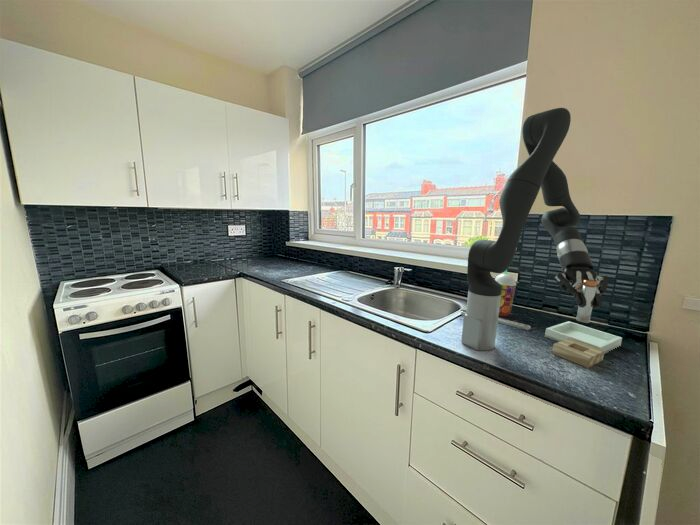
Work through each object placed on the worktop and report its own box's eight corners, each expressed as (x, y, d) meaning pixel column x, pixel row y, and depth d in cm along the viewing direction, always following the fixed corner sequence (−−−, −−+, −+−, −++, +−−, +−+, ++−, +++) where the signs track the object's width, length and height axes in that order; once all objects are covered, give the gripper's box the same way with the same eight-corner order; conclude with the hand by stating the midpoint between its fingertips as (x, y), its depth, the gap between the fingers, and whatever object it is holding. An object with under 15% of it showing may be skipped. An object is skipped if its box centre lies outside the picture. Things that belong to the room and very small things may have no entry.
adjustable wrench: (531, 329, 103) (531, 325, 103) (526, 335, 99) (527, 330, 98) (463, 311, 120) (464, 307, 120) (457, 315, 116) (457, 311, 115)
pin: (586, 323, 79) (594, 282, 77) (573, 319, 82) (581, 279, 79) (591, 321, 80) (599, 281, 78) (579, 318, 83) (586, 278, 81)
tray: (598, 356, 83) (600, 347, 83) (544, 336, 96) (545, 328, 96) (620, 346, 90) (622, 337, 90) (567, 328, 103) (568, 321, 103)
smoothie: (492, 309, 123) (498, 264, 119) (514, 313, 117) (520, 267, 114) (487, 314, 117) (492, 267, 113) (509, 319, 111) (516, 270, 108)
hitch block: (587, 368, 77) (589, 357, 77) (551, 353, 85) (553, 344, 84) (602, 360, 81) (604, 350, 81) (567, 347, 89) (568, 338, 89)
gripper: (553, 248, 86) (568, 298, 76) (606, 251, 83) (629, 303, 74) (543, 262, 92) (555, 310, 83) (592, 265, 89) (611, 315, 80)
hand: (590, 306), depth 78 cm, fingers closed on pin, 3 cm apart
